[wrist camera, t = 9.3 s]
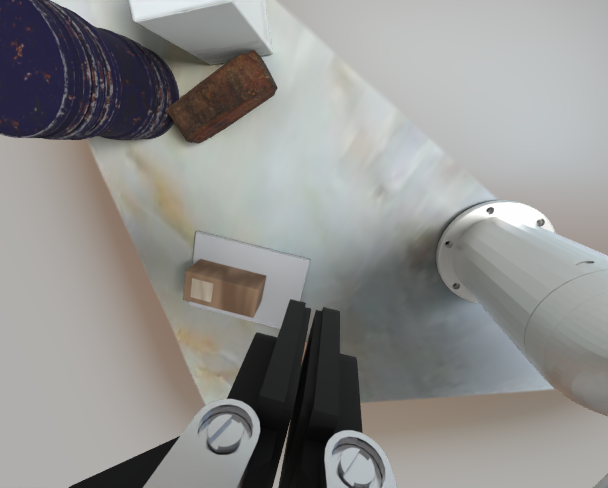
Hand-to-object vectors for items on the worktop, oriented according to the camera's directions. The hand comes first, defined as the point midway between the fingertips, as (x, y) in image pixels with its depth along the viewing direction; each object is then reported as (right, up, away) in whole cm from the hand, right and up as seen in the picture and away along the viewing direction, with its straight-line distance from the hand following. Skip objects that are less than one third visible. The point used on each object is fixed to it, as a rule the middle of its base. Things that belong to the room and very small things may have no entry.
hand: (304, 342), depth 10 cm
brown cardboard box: (-6, -3, +28) cm, 29 cm away
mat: (-8, -2, +30) cm, 31 cm away
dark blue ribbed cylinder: (-19, +20, +24) cm, 37 cm away
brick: (-8, +19, +24) cm, 31 cm away
